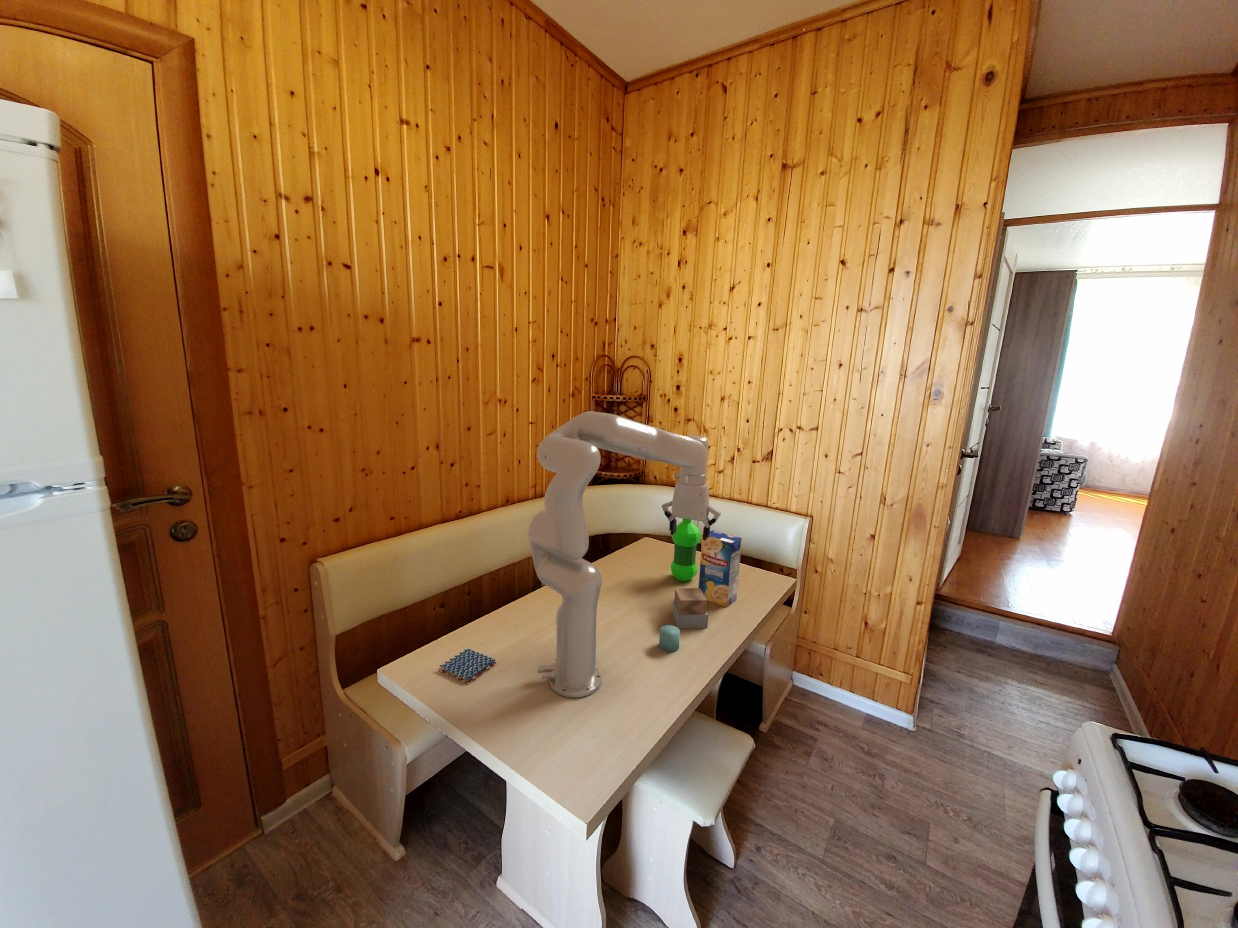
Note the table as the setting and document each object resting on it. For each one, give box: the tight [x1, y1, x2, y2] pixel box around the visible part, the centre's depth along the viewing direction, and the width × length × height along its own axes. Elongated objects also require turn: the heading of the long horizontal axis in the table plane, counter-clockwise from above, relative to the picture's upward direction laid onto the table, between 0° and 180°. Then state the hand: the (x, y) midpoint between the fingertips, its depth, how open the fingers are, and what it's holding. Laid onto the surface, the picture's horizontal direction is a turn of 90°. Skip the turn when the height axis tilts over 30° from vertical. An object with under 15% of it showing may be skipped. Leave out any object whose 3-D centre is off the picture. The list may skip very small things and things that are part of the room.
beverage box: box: [698, 529, 742, 608], centre depth 165 cm, size 7×11×22 cm, turn 50°
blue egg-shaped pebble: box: [658, 624, 681, 653], centre depth 137 cm, size 6×6×5 cm
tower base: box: [671, 600, 709, 629], centre depth 151 cm, size 9×9×4 cm
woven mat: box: [439, 648, 498, 685], centre depth 125 cm, size 10×11×2 cm
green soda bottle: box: [670, 518, 702, 582], centre depth 179 cm, size 10×10×25 cm
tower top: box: [673, 587, 708, 614], centre depth 151 cm, size 8×8×4 cm
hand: (689, 536), depth 144 cm, fingers open, 9 cm apart
